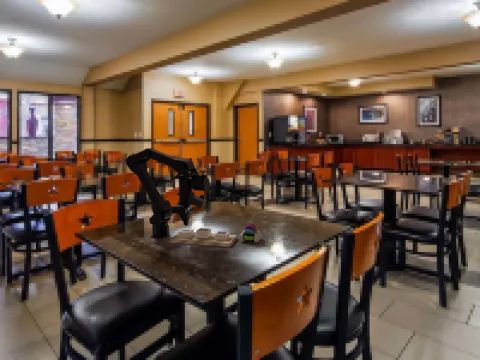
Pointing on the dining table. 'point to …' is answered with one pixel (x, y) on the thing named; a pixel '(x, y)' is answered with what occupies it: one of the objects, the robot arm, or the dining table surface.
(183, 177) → the robot arm
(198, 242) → the tan curved board
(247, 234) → the rainbow lobed toy
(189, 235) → the tile one
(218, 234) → the tile three
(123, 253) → the dining table surface
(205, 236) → the tile two
